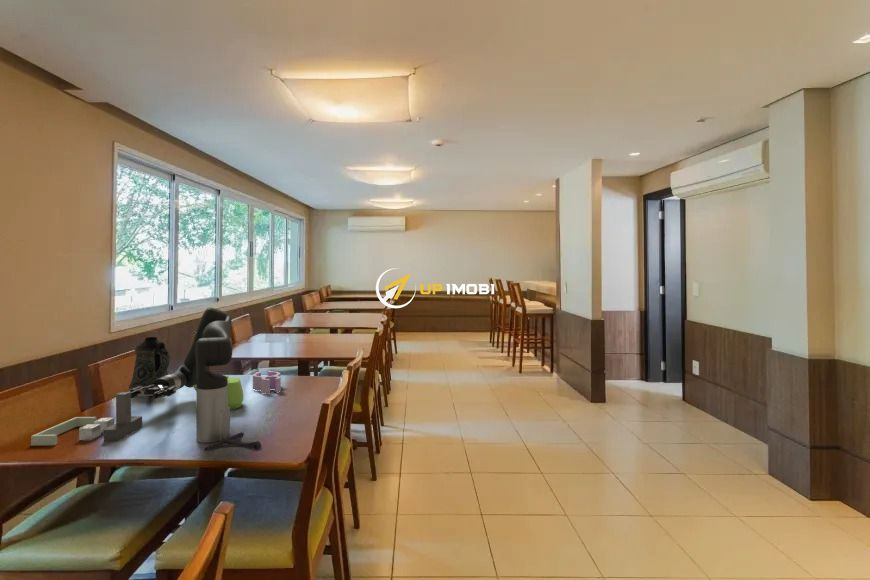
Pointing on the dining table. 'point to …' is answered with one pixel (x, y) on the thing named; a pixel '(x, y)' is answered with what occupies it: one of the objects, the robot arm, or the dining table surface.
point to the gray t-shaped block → (122, 419)
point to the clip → (267, 382)
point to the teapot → (233, 392)
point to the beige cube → (105, 423)
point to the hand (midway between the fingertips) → (142, 396)
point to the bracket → (234, 443)
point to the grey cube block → (90, 432)
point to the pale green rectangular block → (59, 430)
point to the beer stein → (149, 362)
